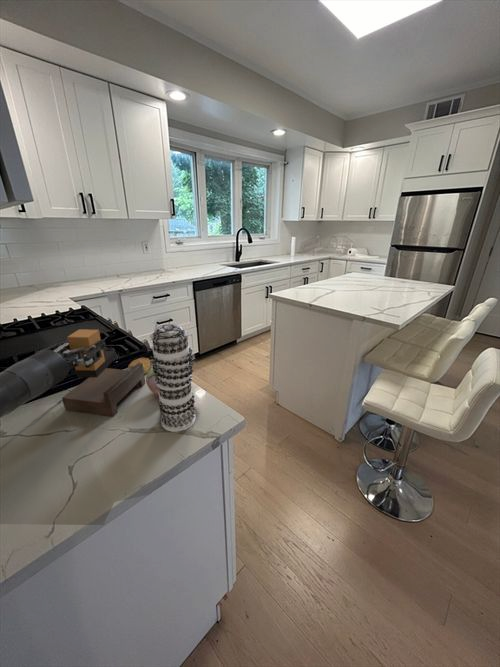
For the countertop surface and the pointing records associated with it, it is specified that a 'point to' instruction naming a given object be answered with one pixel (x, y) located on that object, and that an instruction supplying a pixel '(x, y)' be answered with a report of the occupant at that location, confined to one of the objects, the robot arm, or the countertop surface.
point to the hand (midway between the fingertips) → (92, 342)
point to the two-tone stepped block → (84, 340)
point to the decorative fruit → (152, 382)
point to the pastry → (144, 361)
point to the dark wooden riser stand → (104, 391)
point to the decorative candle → (173, 377)
